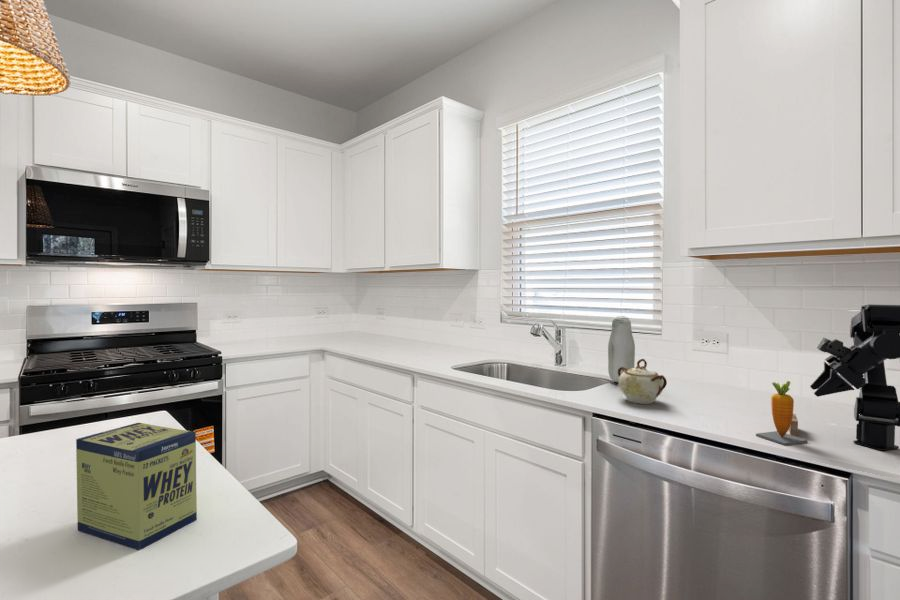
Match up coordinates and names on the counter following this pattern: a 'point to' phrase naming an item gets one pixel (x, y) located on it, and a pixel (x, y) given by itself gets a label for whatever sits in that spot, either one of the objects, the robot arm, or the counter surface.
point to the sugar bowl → (641, 384)
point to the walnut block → (794, 426)
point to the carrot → (782, 408)
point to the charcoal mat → (781, 438)
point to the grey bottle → (620, 347)
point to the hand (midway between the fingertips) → (813, 391)
